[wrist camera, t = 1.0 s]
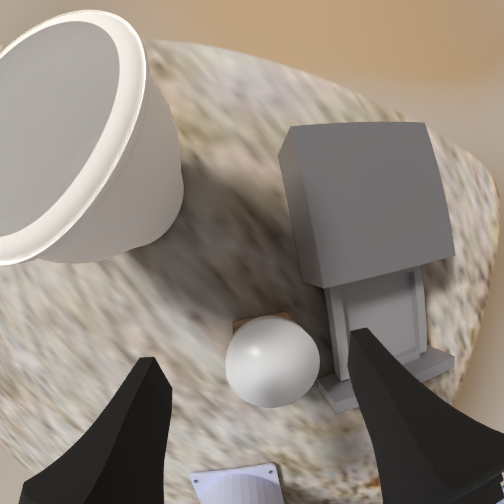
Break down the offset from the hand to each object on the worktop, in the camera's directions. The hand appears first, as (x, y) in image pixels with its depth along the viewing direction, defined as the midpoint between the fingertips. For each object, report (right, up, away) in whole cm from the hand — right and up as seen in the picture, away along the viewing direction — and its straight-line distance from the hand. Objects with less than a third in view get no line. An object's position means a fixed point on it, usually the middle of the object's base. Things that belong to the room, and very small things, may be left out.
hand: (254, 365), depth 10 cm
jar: (-9, +9, +12) cm, 17 cm away
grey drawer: (+10, -1, +12) cm, 16 cm away
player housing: (+8, +8, +13) cm, 17 cm away
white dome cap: (+1, -3, +8) cm, 9 cm away
